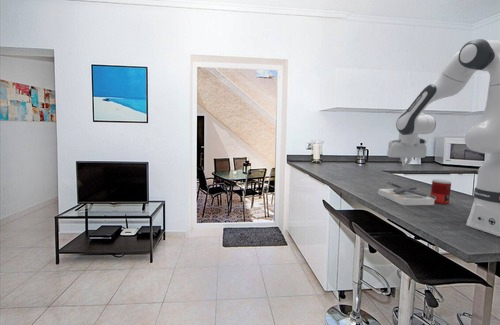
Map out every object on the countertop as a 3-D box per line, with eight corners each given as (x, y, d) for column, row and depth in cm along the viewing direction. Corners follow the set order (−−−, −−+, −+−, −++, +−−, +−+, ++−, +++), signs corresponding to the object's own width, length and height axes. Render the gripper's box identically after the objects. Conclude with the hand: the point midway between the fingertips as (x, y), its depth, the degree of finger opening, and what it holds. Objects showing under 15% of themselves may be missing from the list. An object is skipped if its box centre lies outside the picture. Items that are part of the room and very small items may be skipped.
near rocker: (426, 197, 141) (426, 194, 141) (408, 192, 139) (408, 190, 139) (419, 195, 145) (420, 192, 145) (402, 190, 144) (403, 188, 144)
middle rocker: (416, 189, 147) (416, 186, 147) (398, 193, 147) (398, 191, 146) (411, 187, 152) (410, 185, 152) (393, 191, 151) (393, 189, 151)
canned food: (448, 205, 140) (451, 183, 139) (429, 202, 145) (431, 180, 144) (449, 202, 146) (451, 180, 145) (430, 199, 151) (433, 178, 150)
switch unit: (433, 205, 140) (434, 198, 139) (403, 205, 138) (403, 198, 138) (404, 194, 162) (405, 188, 161) (378, 194, 160) (378, 188, 159)
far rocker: (407, 191, 155) (408, 189, 155) (391, 185, 153) (392, 183, 153) (402, 189, 159) (402, 187, 159) (386, 183, 158) (387, 181, 157)
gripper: (392, 140, 148) (390, 166, 150) (429, 140, 150) (427, 166, 152) (385, 139, 154) (383, 165, 156) (421, 140, 156) (418, 165, 158)
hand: (405, 166), depth 154 cm, fingers closed
